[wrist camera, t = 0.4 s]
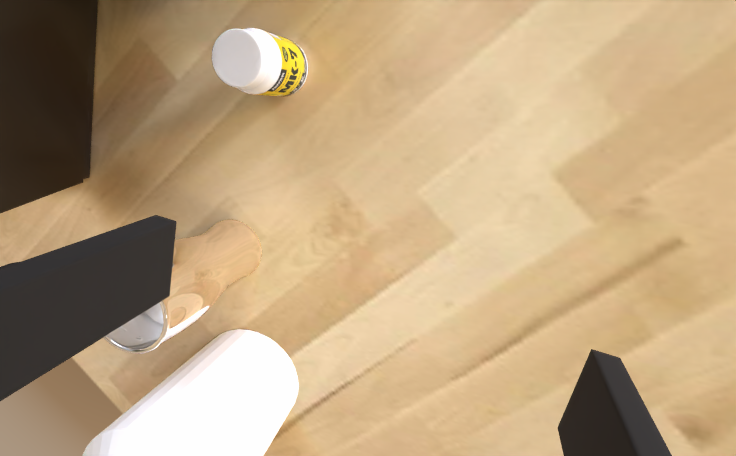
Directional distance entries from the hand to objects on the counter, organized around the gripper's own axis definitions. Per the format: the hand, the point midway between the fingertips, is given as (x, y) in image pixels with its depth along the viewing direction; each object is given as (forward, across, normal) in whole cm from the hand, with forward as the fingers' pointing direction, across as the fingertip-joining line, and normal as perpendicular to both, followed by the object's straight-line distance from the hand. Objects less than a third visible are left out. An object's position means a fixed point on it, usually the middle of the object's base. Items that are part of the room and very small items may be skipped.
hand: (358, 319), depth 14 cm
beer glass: (+27, -18, -12) cm, 35 cm away
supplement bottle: (+28, -16, +6) cm, 32 cm away
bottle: (+27, -14, -26) cm, 40 cm away
